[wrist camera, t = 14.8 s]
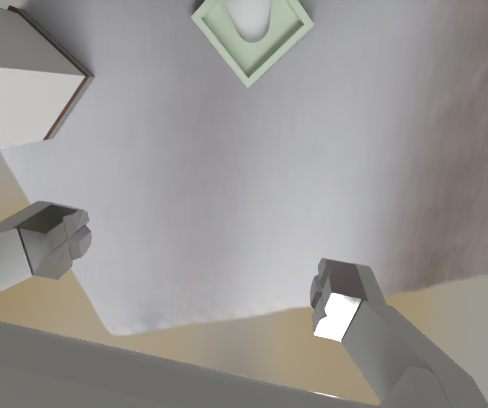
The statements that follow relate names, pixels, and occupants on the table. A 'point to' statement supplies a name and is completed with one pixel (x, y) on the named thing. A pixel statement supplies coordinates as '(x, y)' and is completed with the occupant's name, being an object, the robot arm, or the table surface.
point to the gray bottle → (250, 18)
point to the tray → (259, 53)
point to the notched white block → (34, 81)
